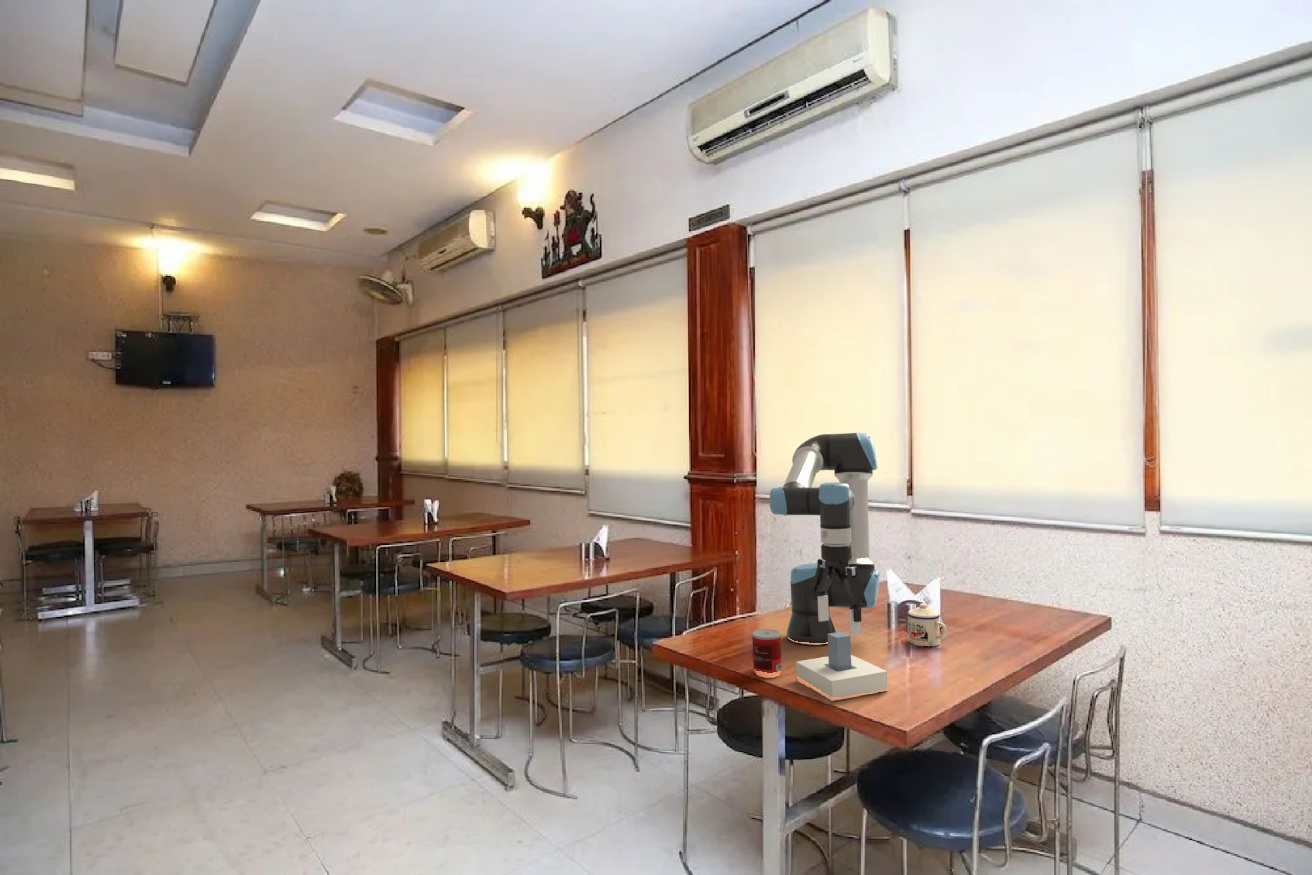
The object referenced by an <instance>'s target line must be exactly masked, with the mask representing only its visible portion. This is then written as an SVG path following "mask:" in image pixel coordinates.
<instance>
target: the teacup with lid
mask: <svg viewBox="0 0 1312 875" xmlns="http://www.w3.org/2000/svg"><path fill="white" fill-rule="evenodd" d="M907 616H908V618H907V619H908V640H909V643H910V644H912V645H914V646H917V647H923V646H928V647H927V648H930V647H929V646H933V647H936V646H937V647H938V646H939V645H940V644H941V640H942V639H944V638H945V637H946V636H947V633H948V629H947V625H946V624H944V623H943V622H941V621H940V617H941V616H940V613H939V612H938V611H936V610H935V609H934V610H933V609H932V608H930V607H928V606H927V604H926V603H920V604H919V606H918V607H915V608H913V609H912V608H911V609H910V610H908V612H907ZM940 627H941V628H942V634H941V635H940Z"/></svg>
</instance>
